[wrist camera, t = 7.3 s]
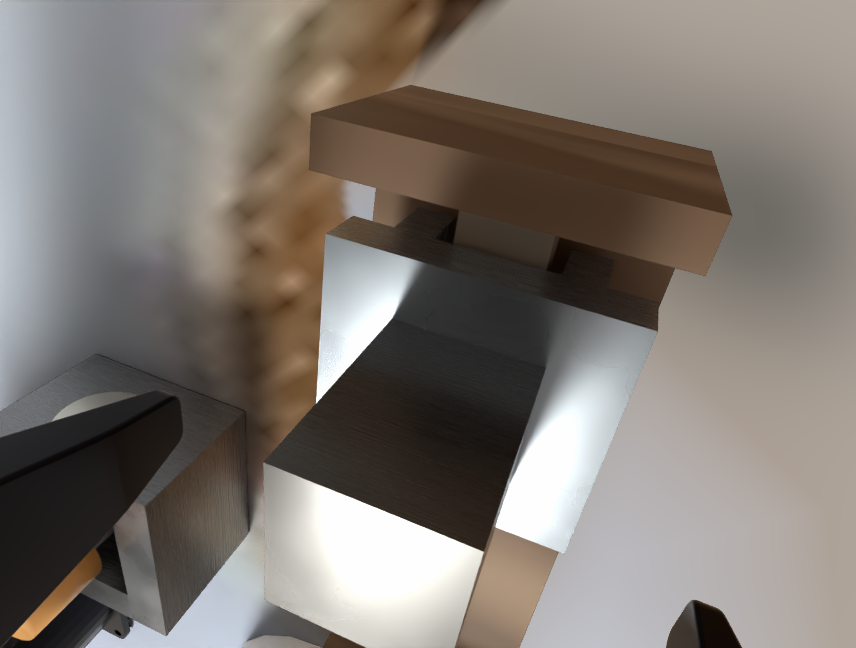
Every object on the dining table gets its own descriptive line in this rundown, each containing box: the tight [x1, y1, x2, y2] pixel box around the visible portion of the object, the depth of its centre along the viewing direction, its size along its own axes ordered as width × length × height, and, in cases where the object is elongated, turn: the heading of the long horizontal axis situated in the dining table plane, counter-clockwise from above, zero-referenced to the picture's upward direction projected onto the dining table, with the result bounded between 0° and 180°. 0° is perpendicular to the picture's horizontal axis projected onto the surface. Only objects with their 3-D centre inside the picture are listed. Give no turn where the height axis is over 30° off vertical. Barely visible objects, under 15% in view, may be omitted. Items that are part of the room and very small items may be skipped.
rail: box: [309, 85, 732, 648], centre depth 17 cm, size 22×7×5 cm, turn 171°
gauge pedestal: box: [0, 354, 248, 636], centre depth 22 cm, size 7×7×5 cm
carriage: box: [263, 207, 659, 648], centre depth 11 cm, size 6×6×7 cm
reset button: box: [13, 527, 114, 641], centre depth 19 cm, size 3×3×4 cm
